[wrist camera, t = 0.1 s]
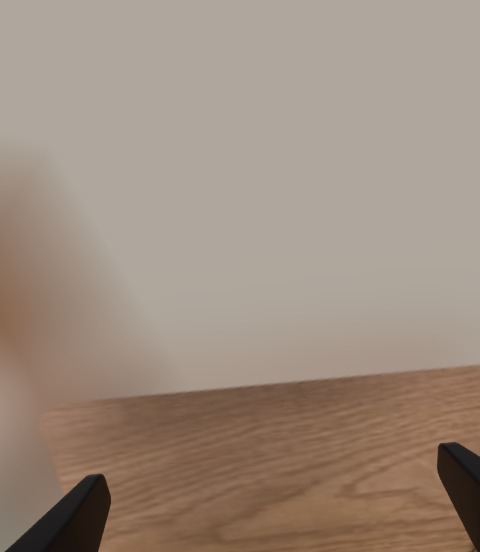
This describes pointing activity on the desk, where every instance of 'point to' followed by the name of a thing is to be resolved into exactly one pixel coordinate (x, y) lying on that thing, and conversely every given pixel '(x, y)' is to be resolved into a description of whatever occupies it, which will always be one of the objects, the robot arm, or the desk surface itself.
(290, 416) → the desk surface
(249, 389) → the desk surface
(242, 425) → the desk surface
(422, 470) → the desk surface
